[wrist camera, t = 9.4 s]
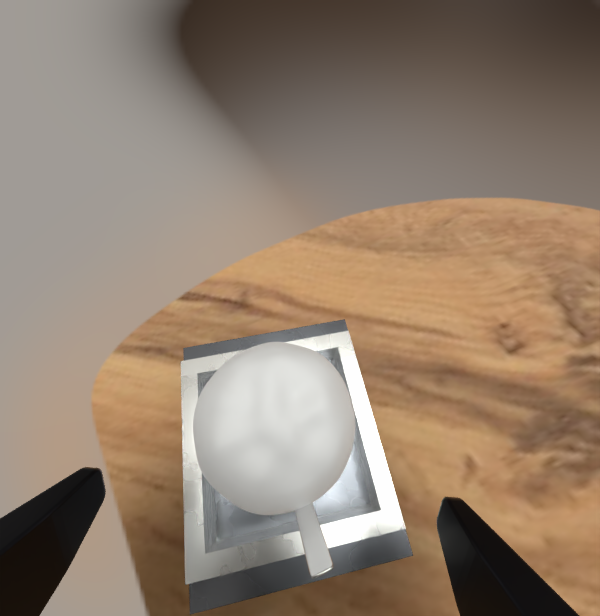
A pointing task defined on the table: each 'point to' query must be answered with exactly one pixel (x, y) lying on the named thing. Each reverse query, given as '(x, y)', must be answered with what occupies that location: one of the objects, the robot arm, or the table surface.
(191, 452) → the grey open rectangular box
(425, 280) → the table surface
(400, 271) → the table surface
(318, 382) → the milkshake
